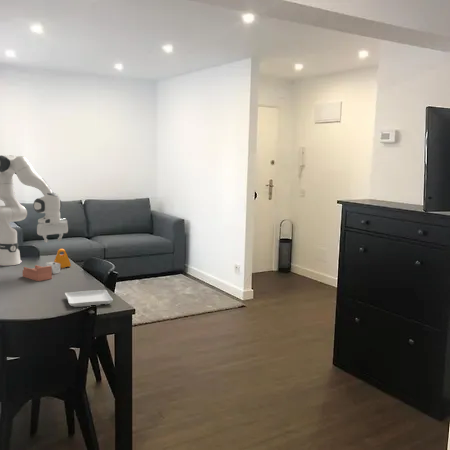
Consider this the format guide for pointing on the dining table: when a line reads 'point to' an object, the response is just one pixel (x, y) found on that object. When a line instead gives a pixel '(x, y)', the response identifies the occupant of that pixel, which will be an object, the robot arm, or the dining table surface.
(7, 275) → the dining table surface
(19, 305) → the dining table surface
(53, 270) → the block with knob
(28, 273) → the pink boxy piece
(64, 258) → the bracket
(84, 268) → the dining table surface
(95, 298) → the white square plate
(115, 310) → the dining table surface
